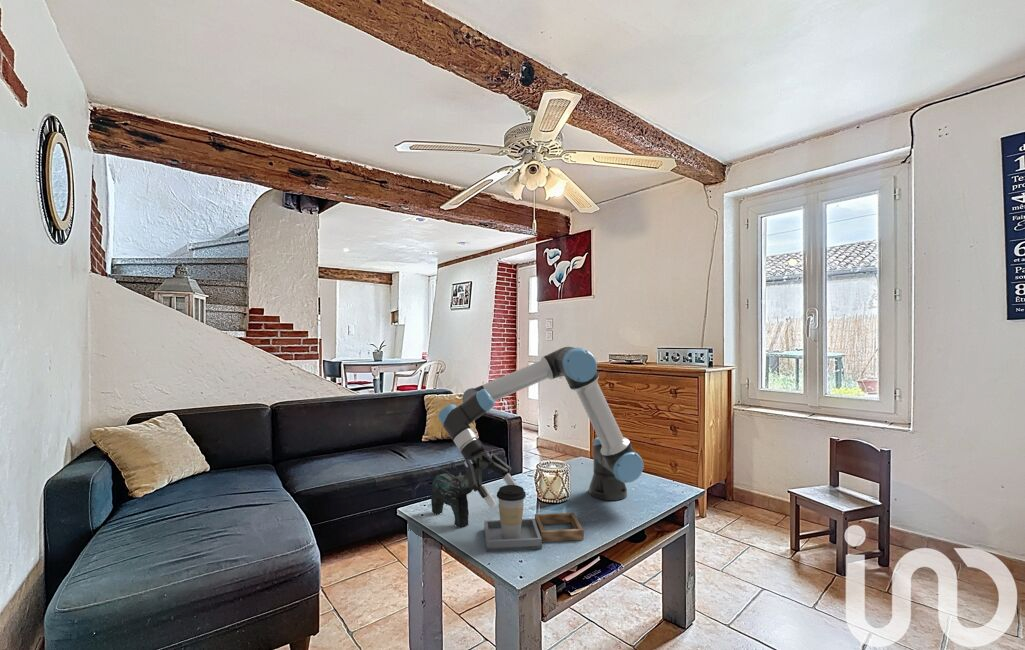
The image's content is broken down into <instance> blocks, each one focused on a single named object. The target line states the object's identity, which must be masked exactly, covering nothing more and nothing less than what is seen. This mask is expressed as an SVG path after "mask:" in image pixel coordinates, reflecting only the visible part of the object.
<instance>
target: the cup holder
mask: <svg viewBox="0 0 1025 650" xmlns="http://www.w3.org/2000/svg"><path fill="white" fill-rule="evenodd" d="M534 519H535V522H536V524H537V527H538V530H539V533H540V536H541V538H542V543H543V541H545V542H561V541H563V540H564V541H565V540H566V541H583V540H585V537H584V534H585V533H584V528H583V527H582V524H581V523H580V522H579V519H578V518H577V516H576V515H575V513H574V512H560V513H558V512H557V513H554V512H552V513H539V514H538V513H535V514H534ZM554 523H555V524H570V525H571V526H572V528H568V529H564V528H563V529H547V530H545V529H544V527H543V525H550V524H552V525H553V524H554ZM555 524H554V525H555ZM573 527H574V528H573ZM564 541H563V542H564Z"/></svg>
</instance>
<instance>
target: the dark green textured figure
mask: <svg viewBox="0 0 1025 650" xmlns="http://www.w3.org/2000/svg"><path fill="white" fill-rule="evenodd" d="M453 466H454V467H455V475H453V474H451V473H450V472H449V471H448V470H446V469H440V470H438V472H437V473H436V477H435V478H434V479H433V481H432V486H431V487H432V488H431V494H430V503H431V512H433V513H434V515H435V514H436V516H438V515H441V514H440V513H442V514H443V510H444V505H446V506H450V508H451V510H452V513H453V515H454V526H455V525H456V526H455V527H458V528H459V527H460V528H459V529H463V528H465V527H468V526H469V514H470V513H469V502H468V495H469V494H470V493H472V492H473V490H471V489H470V486H469V482H468V478H467V473H465V475H464V474H463V475H462V472H461V471H460V472H459V473H457V472H458V471H457V466H456V464H455V463H452V464H451V465H450V467H451V468H452V467H453ZM440 472H441V473H442V472H446V473H442V474H440ZM433 513H432V514H433ZM437 514H438V515H437ZM467 525H468V526H467ZM462 527H463V528H462Z"/></svg>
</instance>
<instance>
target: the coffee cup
mask: <svg viewBox="0 0 1025 650" xmlns="http://www.w3.org/2000/svg"><path fill="white" fill-rule="evenodd" d="M526 495H527V494H526V491H525V490H524V488H523V486H520V485H507V484H506V485H502V486H500V487H499V489H498V491H497V492H496V497H497V498H498V511H499V512H498V513H499V520H500V522H501V529H502V537H503V538H504V539H518V538H519V537H520V532H521V522H522V519H523V517H524V516H523V514H524V506H525V505H524V500H525V498H526V497H527V496H526Z"/></svg>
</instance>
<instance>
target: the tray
mask: <svg viewBox="0 0 1025 650" xmlns="http://www.w3.org/2000/svg"><path fill="white" fill-rule="evenodd" d="M483 525H484V527H483V528H484V530H485V531H484V540H485V550H486V552H505V551H507V552H509V551H525V550H542V547H543V545H542V543H543V542H542V538H541V536H540V533H539V530H538V527H537V524H536V522H535V518H522V522H521V532H520V537H519V538H518V539H504V538H503V537H502V529H501V522H500V519H491V520H490V519H488V520H484V523H483Z"/></svg>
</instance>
